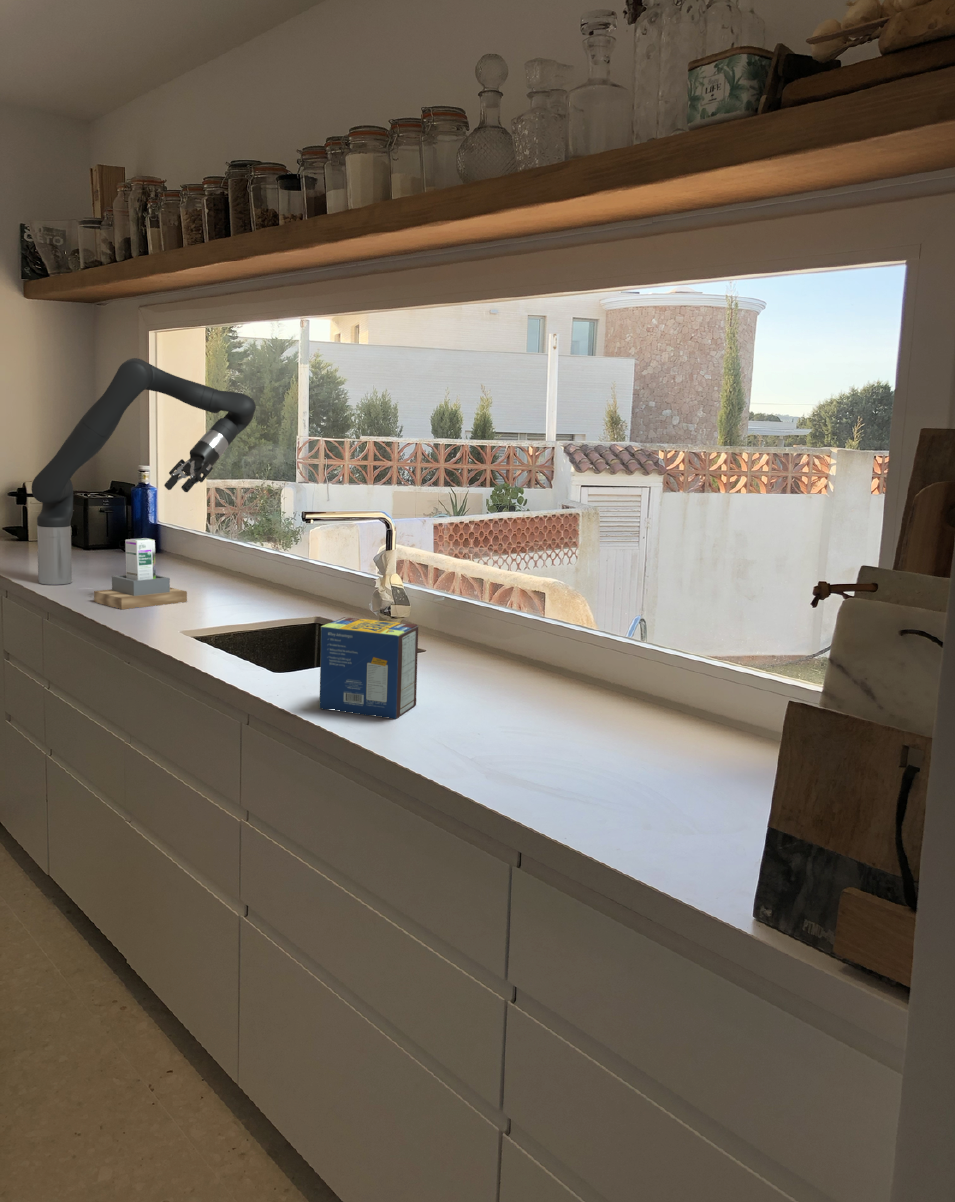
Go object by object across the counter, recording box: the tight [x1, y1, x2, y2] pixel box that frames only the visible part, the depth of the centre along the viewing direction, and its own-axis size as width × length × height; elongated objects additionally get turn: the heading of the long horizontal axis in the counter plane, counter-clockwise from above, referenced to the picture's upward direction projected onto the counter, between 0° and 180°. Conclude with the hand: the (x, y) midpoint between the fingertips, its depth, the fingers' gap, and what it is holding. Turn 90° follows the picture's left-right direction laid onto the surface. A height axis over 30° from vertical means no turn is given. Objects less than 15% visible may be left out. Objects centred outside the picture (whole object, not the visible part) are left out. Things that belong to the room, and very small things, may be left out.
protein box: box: [318, 616, 419, 720], centre depth 184 cm, size 10×15×16 cm
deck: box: [93, 587, 188, 610], centre depth 278 cm, size 14×20×3 cm
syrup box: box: [124, 537, 157, 580], centre depth 277 cm, size 6×6×14 cm
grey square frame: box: [111, 574, 171, 596], centre depth 277 cm, size 11×11×4 cm
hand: (175, 489), depth 286 cm, fingers open, 8 cm apart
